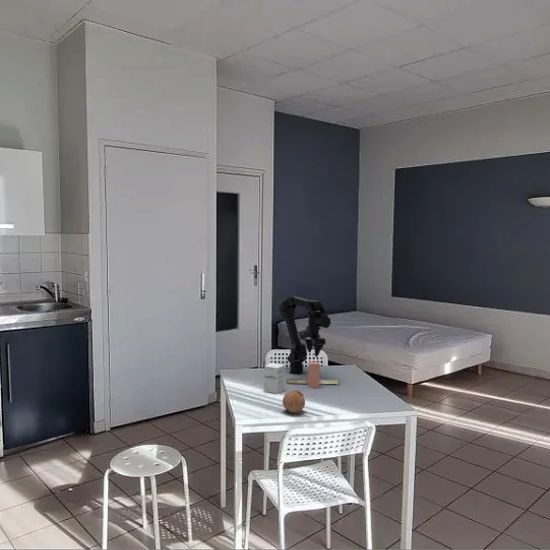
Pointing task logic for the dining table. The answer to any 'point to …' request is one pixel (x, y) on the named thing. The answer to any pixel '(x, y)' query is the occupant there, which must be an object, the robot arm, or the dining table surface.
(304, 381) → the price rail
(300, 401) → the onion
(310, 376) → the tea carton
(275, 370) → the supplement box
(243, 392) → the dining table surface
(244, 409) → the dining table surface
